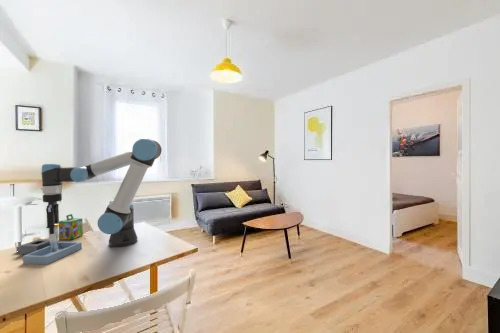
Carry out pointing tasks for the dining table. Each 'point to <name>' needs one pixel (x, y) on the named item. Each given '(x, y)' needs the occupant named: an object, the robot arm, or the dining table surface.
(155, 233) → the dining table surface
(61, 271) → the dining table surface
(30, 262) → the tray
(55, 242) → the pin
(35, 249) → the hitch block
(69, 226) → the green lunch box
